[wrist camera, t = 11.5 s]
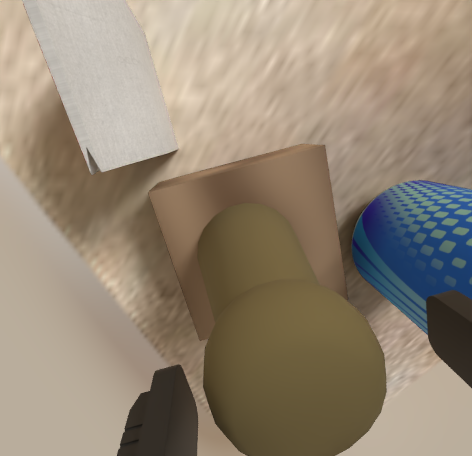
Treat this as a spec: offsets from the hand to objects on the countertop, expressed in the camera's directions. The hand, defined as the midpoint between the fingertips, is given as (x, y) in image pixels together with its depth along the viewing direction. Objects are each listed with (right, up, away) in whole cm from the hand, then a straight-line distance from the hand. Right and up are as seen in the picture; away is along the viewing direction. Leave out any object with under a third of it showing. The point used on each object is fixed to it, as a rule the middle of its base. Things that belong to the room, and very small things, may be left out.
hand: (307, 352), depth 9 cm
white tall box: (-9, +12, +9) cm, 17 cm away
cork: (-2, +3, +8) cm, 9 cm away
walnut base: (-1, +4, +12) cm, 13 cm away
